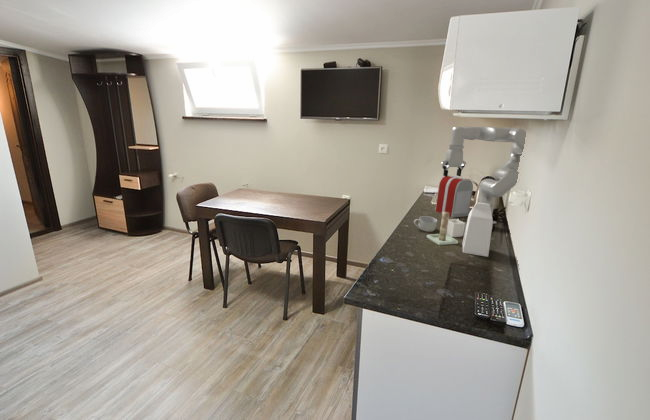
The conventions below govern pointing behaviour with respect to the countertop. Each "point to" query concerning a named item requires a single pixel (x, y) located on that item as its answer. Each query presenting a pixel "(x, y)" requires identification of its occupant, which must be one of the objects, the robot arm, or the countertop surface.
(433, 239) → the tray
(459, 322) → the countertop surface
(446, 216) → the dowel
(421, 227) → the teacup
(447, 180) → the red and white block
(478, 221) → the milk
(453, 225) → the open box
